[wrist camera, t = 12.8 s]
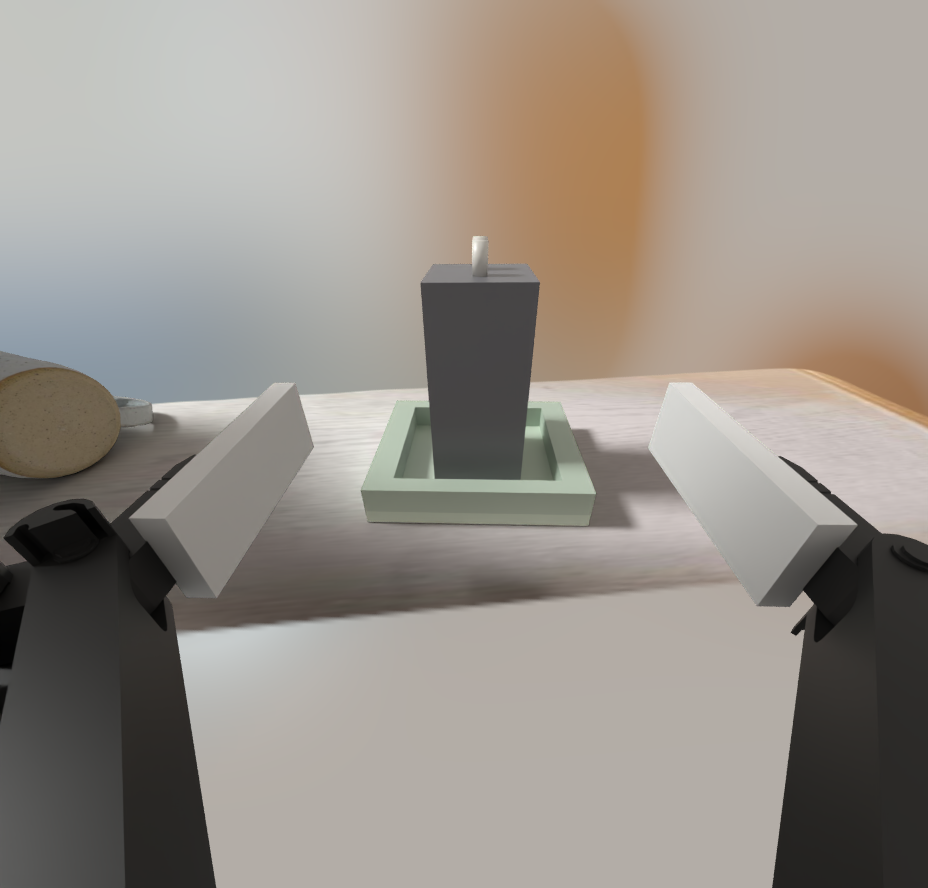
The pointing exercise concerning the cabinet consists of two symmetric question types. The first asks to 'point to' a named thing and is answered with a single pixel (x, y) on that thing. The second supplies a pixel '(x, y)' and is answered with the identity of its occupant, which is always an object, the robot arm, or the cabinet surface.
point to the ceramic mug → (58, 418)
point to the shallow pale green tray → (471, 500)
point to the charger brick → (479, 364)
